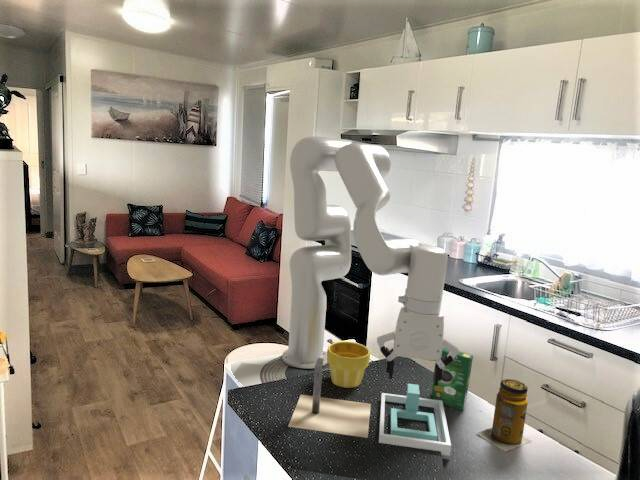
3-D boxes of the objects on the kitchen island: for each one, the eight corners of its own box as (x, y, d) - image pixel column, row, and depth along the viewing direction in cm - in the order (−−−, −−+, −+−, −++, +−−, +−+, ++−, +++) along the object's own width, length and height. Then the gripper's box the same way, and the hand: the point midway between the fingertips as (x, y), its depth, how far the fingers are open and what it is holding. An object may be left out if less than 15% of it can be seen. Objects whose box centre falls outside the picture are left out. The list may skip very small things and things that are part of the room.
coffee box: (467, 406, 117) (474, 353, 115) (464, 411, 115) (470, 357, 112) (433, 396, 121) (439, 345, 119) (430, 401, 118) (436, 348, 116)
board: (300, 400, 114) (300, 394, 114) (370, 410, 112) (370, 403, 112) (287, 433, 101) (288, 426, 100) (367, 444, 99) (367, 437, 98)
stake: (313, 406, 109) (317, 357, 107) (320, 407, 109) (324, 358, 107) (309, 417, 104) (313, 367, 103) (317, 418, 104) (321, 368, 102)
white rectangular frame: (380, 404, 115) (381, 392, 114) (440, 413, 113) (442, 400, 113) (378, 449, 97) (379, 435, 97) (449, 459, 95) (451, 445, 95)
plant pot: (368, 398, 118) (371, 359, 116) (324, 394, 118) (327, 355, 116) (365, 379, 128) (368, 342, 126) (325, 375, 128) (328, 339, 127)
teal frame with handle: (390, 439, 100) (393, 411, 99) (390, 406, 113) (392, 381, 112) (436, 445, 99) (439, 417, 98) (430, 411, 112) (433, 386, 111)
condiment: (530, 441, 104) (539, 387, 102) (505, 452, 99) (513, 396, 97) (501, 424, 110) (508, 373, 108) (475, 434, 105) (482, 381, 103)
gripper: (381, 304, 103) (372, 381, 106) (467, 315, 101) (455, 393, 104) (382, 294, 110) (373, 366, 113) (462, 304, 108) (451, 377, 111)
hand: (412, 379), depth 109 cm, fingers open, 9 cm apart
